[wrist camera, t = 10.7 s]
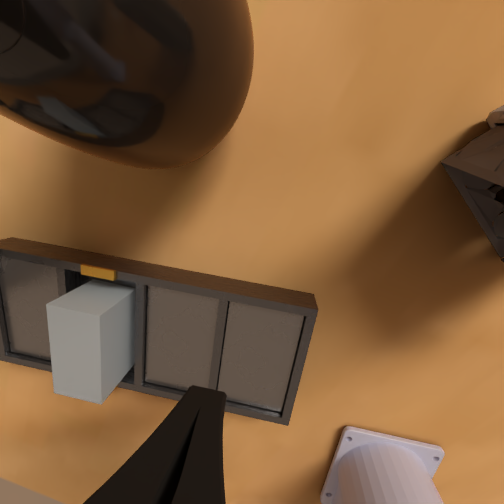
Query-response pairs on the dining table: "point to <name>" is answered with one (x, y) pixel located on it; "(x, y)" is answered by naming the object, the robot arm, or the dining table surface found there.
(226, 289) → the rack
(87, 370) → the grey rectangular block
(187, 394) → the robot arm
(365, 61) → the dining table surface
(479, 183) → the electrical switch
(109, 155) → the dark egg shaped ornament
